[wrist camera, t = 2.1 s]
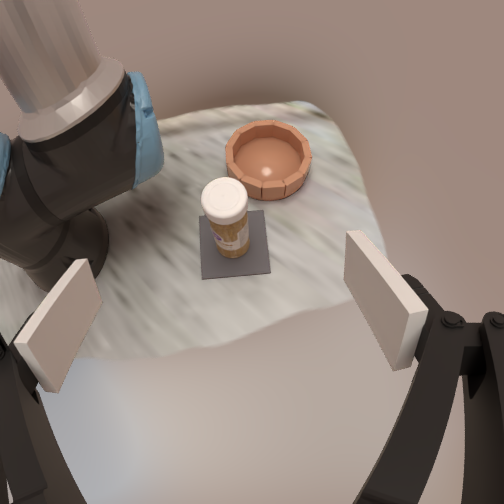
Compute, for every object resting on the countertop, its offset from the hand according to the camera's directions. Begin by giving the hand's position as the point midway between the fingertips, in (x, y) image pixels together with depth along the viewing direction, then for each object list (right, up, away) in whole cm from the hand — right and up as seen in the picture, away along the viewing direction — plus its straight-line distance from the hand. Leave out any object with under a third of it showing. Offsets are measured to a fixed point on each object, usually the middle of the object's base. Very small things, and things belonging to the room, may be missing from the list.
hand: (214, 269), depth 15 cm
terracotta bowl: (+4, +14, +31) cm, 35 cm away
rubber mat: (-1, +2, +28) cm, 28 cm away
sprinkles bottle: (-1, +2, +28) cm, 28 cm away
